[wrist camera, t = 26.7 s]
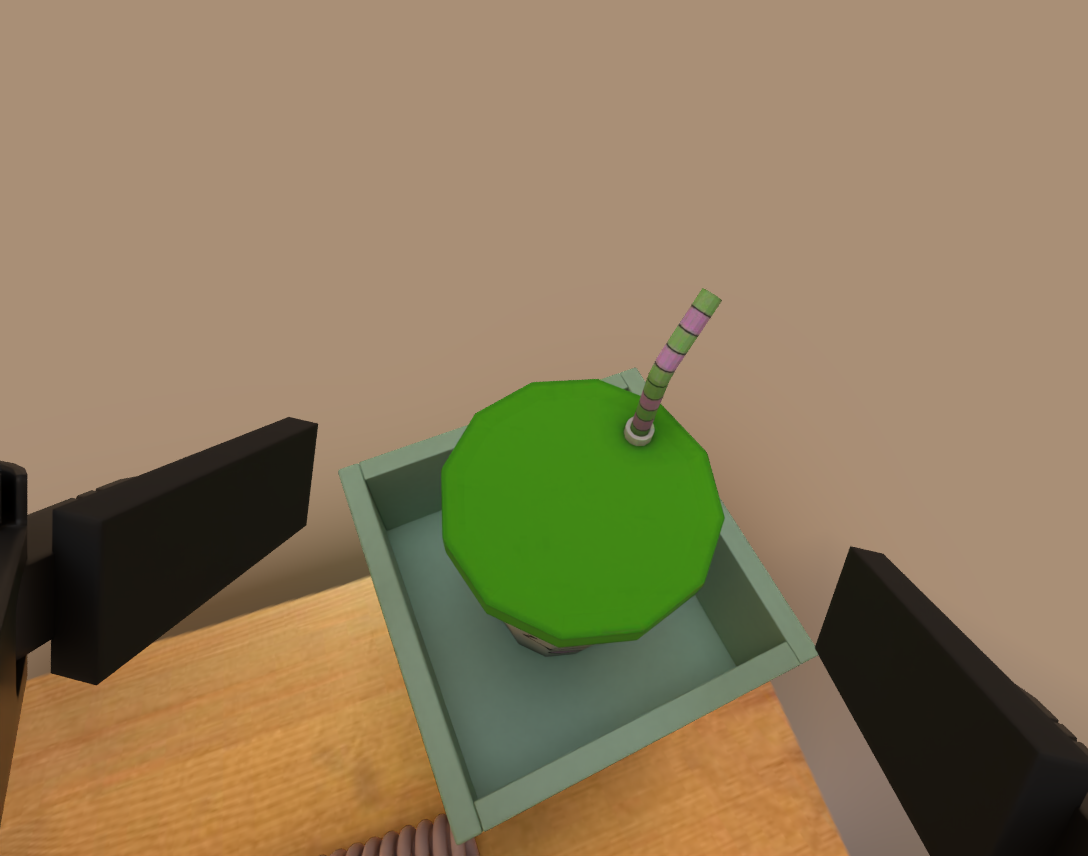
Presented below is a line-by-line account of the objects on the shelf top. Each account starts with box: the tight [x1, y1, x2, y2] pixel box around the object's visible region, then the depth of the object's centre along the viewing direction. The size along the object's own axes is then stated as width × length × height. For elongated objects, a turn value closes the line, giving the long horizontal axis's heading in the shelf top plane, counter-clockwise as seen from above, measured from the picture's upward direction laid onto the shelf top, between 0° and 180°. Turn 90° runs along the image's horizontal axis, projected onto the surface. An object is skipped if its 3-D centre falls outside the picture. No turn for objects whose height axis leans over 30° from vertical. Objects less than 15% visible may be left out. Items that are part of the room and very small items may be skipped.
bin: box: [338, 368, 818, 845], centre depth 24 cm, size 13×13×6 cm
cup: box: [441, 289, 725, 657], centre depth 19 cm, size 8×8×15 cm
